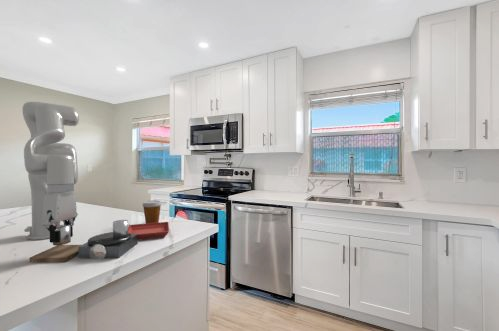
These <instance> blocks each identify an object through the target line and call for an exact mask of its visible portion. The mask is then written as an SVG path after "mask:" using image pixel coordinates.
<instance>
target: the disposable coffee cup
mask: <svg viewBox="0 0 499 331" xmlns="http://www.w3.org/2000/svg"><path fill="white" fill-rule="evenodd" d="M161 206H162V201H161V200H146V201H145V200H144V201H143V203H142V207H143V213H144V220H145V224H147V223H159V221H160V214H161Z"/></svg>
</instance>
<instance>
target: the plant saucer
mask: <svg viewBox="0 0 499 331" xmlns="http://www.w3.org/2000/svg"><path fill="white" fill-rule="evenodd" d="M169 226H170V224H169V221H163V222H162V221H160V222H159V223H147V224H146V223H138V224H130V225H129V224H128V233H130V234H138V241H139V240H148V239H149V240H150V239H159V237H160V238H164V237H165V238H166V236H167V235H168V234H169V232H170V227H169Z"/></svg>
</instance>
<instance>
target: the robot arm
mask: <svg viewBox="0 0 499 331" xmlns="http://www.w3.org/2000/svg"><path fill="white" fill-rule="evenodd" d="M21 110H22V117H23V120H24V122H25V124H26V127H27V128H28V130H29V132H30V138H29V140H27V142H26V143H25V145H24V147H23V148H24V149H23V160H24V167H25V168H24V169H25V171H26V172H27V174H28V175H27V176H28V181H29V182H28V183H29V186H30V187H29V188H30V194H31V225H30V226H26V228H24V232H29V234H28V235H27V236H26V238H27V240H29V241H30V240H31V241H35V240H36V241H37V240H38V241H39V240H45V239H46V240H47V239H49V243H52V244H53V243H58V242H60V231H58V230H59V226H60V225H61V222H63V225H65V224H69V225H70V231H71V238H72V237H73V236H74V235H73V233H74V232H73V230H74V228H73V226H74V225H75V223H74V222H75V221H76V218H77V217H78V215H79V214H78V212H77V200H76V199H77V198H76V193H75V185H77V183H78V182H79V169H78V167H79V166H78V154H77V149H76V147H75V146H74V145H73V144H70V143H63V142H61V141H63V140H64V139H65V137H66V131H65V127H64V126H67V127H68V126H69V127H76V126H78V125H79V121H80V115H79V112H78V110H77V109H76V108H75V107H73V106H67V105H62V104H55V103H50V102H49V103H48V102H42V101H41V102H40V101H27V102H25V103H24V104H23V105H22V109H21ZM60 142H61V143H60Z"/></svg>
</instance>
